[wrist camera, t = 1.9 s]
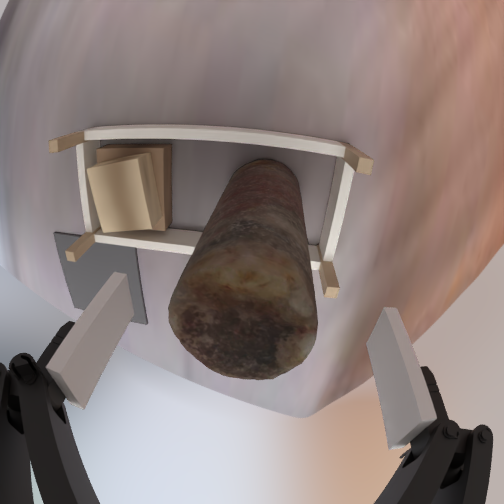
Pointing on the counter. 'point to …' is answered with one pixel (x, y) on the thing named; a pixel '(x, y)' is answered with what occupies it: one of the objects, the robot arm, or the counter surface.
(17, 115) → the counter surface
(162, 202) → the offcut lower
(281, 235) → the rusty brown cylinder
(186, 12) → the counter surface
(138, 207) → the offcut upper
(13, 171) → the counter surface
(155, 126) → the rack
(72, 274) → the mat
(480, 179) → the counter surface
